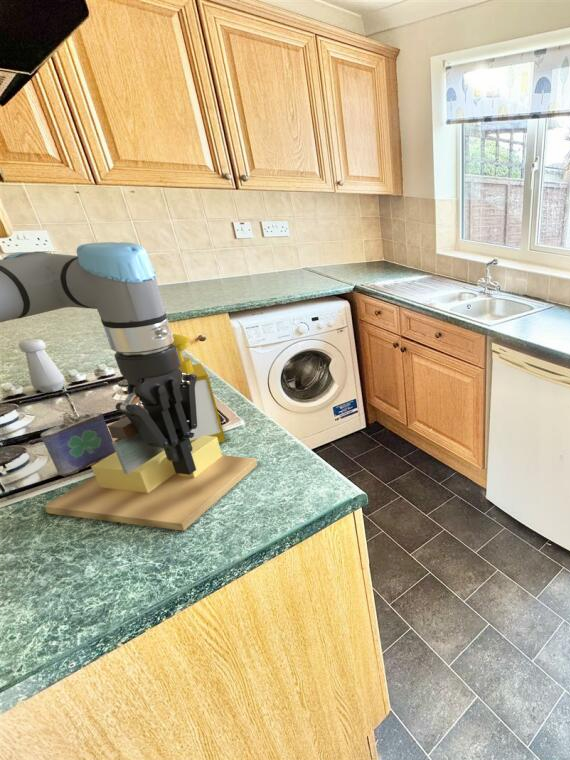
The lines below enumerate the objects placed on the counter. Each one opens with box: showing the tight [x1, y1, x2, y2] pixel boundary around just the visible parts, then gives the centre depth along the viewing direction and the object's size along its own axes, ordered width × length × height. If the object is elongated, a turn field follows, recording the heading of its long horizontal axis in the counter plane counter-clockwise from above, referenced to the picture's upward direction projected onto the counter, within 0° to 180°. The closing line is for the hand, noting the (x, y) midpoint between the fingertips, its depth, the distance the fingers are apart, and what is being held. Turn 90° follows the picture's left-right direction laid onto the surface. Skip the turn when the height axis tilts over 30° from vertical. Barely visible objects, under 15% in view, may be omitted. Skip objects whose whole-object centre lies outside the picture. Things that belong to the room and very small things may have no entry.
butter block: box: [90, 451, 176, 493], centre depth 75 cm, size 9×7×4 cm
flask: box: [40, 411, 116, 477], centre depth 79 cm, size 9×3×11 cm, turn 164°
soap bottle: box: [172, 333, 227, 444], centre depth 87 cm, size 7×13×24 cm, turn 43°
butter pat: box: [179, 435, 223, 478], centre depth 79 cm, size 3×7×4 cm, turn 174°
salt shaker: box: [18, 338, 66, 394], centre depth 103 cm, size 6×6×13 cm
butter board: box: [44, 454, 258, 532], centre depth 76 cm, size 24×18×2 cm
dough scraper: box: [107, 407, 164, 474], centre depth 71 cm, size 2×12×8 cm, turn 174°
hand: (186, 471), depth 75 cm, fingers closed
